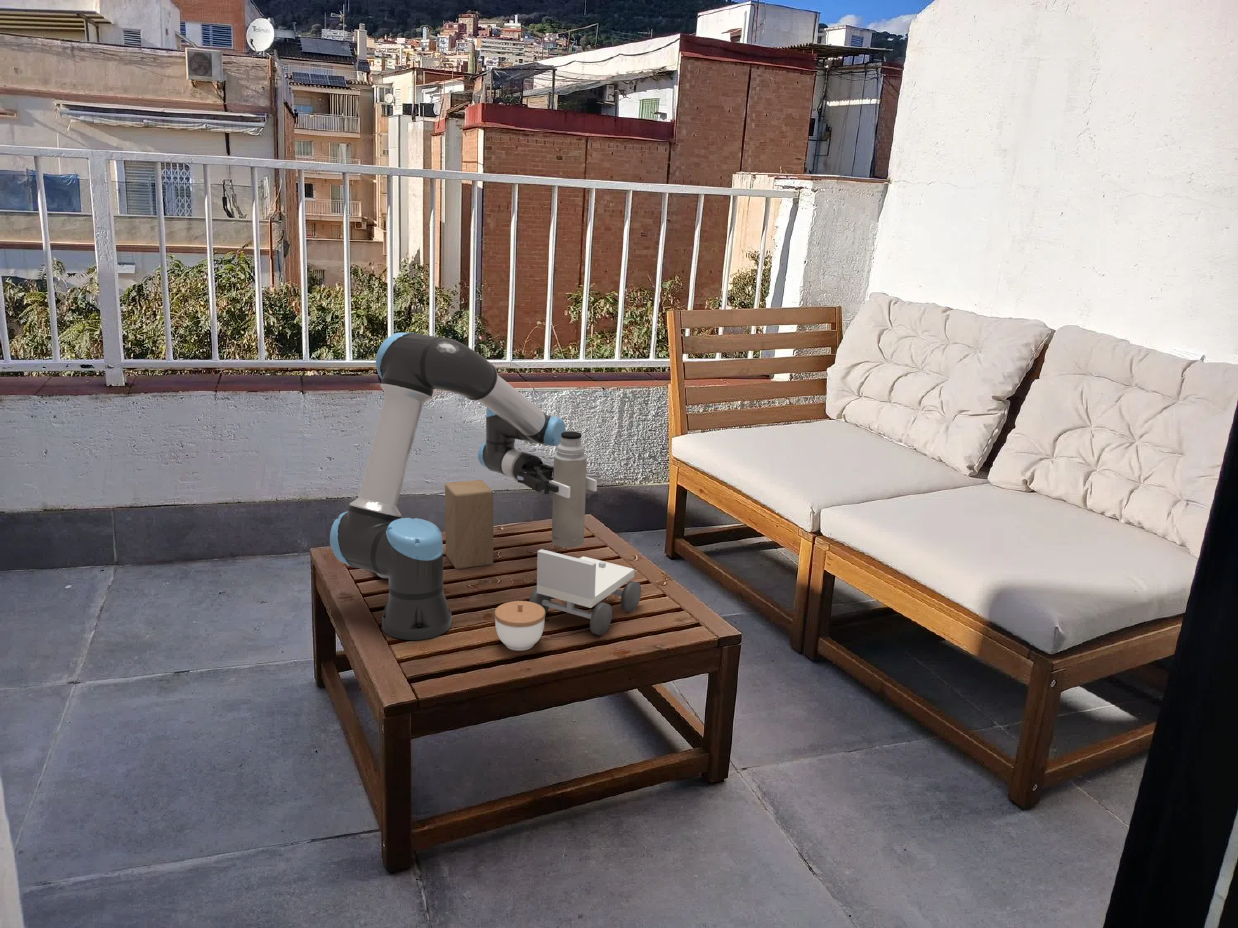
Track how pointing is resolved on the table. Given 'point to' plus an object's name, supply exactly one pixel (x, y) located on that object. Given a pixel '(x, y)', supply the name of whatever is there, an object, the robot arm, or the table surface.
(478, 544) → the wooden block
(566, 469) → the thermos bottle
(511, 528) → the table surface
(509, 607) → the lidded jar
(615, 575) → the trolley
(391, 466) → the robot arm
